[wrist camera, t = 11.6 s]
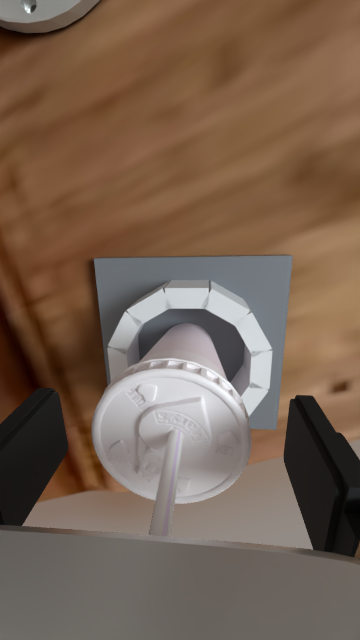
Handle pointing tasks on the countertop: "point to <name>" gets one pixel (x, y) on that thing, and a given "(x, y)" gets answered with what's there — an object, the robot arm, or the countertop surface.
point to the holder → (202, 316)
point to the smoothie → (173, 425)
